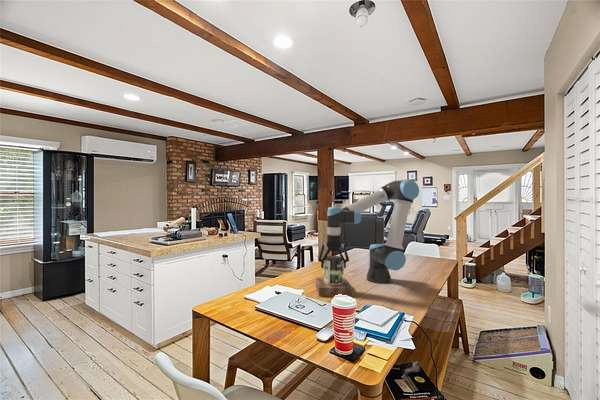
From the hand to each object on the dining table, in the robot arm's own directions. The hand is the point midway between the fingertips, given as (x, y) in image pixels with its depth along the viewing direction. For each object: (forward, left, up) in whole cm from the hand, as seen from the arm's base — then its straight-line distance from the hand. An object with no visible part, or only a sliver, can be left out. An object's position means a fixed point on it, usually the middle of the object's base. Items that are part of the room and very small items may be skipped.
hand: (333, 273), depth 158 cm
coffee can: (0, 0, -5) cm, 5 cm away
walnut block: (0, 0, -9) cm, 9 cm away
